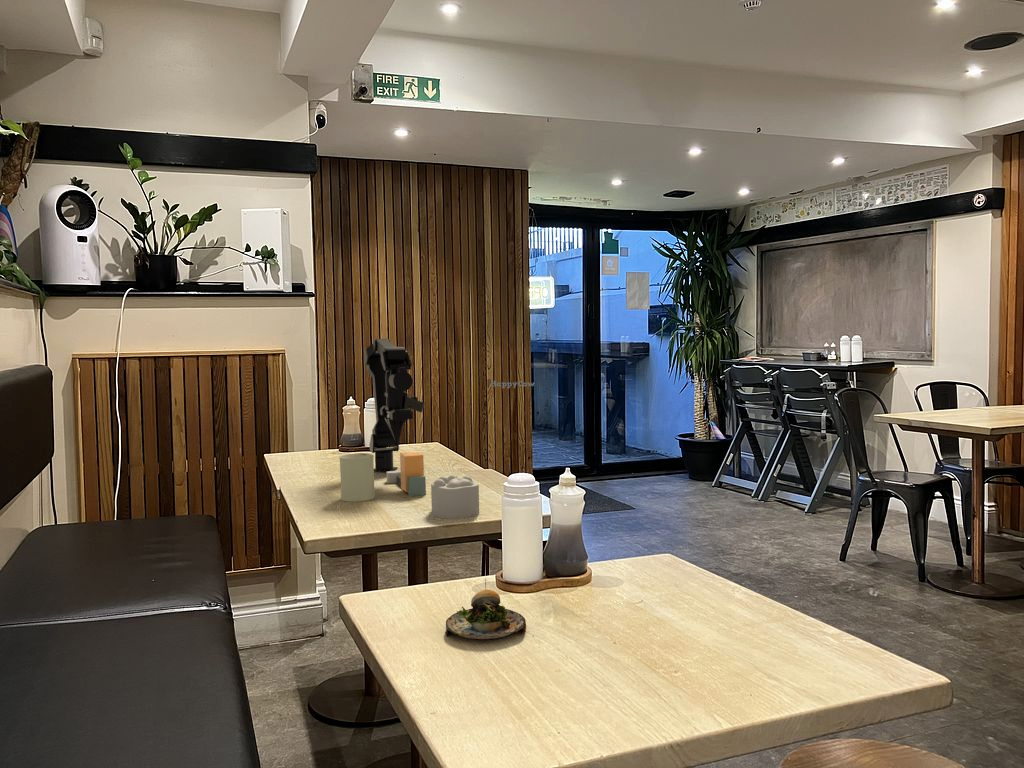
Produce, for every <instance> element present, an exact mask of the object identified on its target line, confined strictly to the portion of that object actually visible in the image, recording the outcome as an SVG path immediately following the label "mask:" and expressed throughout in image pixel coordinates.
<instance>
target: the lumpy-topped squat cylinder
mask: <svg viewBox="0 0 1024 768" xmlns="http://www.w3.org/2000/svg"><path fill="white" fill-rule="evenodd" d="M479 489H480V486H479V483H478V482H476V481H473V478H472V477H471V476H469V475H465V476H463V477H462V478H461V477H458V476H456V475H455V474H451V475H449V476H448V477H446V476H444V475H442V476H439V478H438V479H436V480H434V481H432V482H431V484H430V490H431V491H430V495H431V514H432V515H434V516H436V517H439V518H443V519H447V520H448V519H454V520H455V519H460V518H466V517H473V516H474V517H475V516H478V515H480V493H479V492H480V490H479Z"/></svg>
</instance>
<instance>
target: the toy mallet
mask: <svg viewBox="0 0 1024 768" xmlns="http://www.w3.org/2000/svg"><path fill="white" fill-rule="evenodd" d="M385 473H386V483H388V484H395V483H396V484H398V485H399V486H401V470H392V471H388V472H385ZM426 479H427V478H426V476H425V474H424V475H419V476H408V492H407V495H408V496H409V497H416V496H426V495H427V488H426V487H427V484H426Z"/></svg>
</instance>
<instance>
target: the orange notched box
mask: <svg viewBox="0 0 1024 768" xmlns="http://www.w3.org/2000/svg"><path fill="white" fill-rule="evenodd" d="M399 456H400V457H399V464H400V465H399V466H400V470H401V485H400V489H401V490H402V491H404V492H405V493H408V476H419V475H424V476H425V471H424V469H425V468H424V467H425V465H424V454H422V453H421V452H419V451H416V452H415V451H414V452H399ZM400 470H399V471H400Z"/></svg>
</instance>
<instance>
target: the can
mask: <svg viewBox="0 0 1024 768" xmlns="http://www.w3.org/2000/svg"><path fill="white" fill-rule="evenodd" d="M338 459H339V469H340V470H339V471H340V473H339V475H340V500H341V501H343V502H349V503H350V502H351V503H352V502H354V503H357V502H367V501H371V500H374V499H375V498H376V493H375V471H374V469H375V467H374V466H375V454H373V453H362V452H359V453H348V454H342V455H340V456H339V458H338Z"/></svg>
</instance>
